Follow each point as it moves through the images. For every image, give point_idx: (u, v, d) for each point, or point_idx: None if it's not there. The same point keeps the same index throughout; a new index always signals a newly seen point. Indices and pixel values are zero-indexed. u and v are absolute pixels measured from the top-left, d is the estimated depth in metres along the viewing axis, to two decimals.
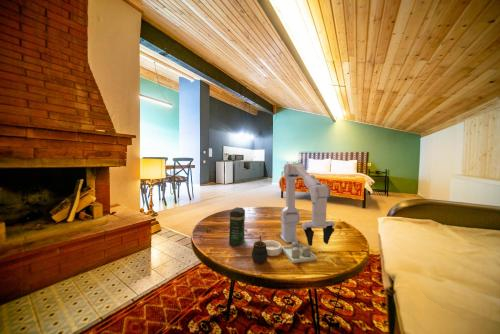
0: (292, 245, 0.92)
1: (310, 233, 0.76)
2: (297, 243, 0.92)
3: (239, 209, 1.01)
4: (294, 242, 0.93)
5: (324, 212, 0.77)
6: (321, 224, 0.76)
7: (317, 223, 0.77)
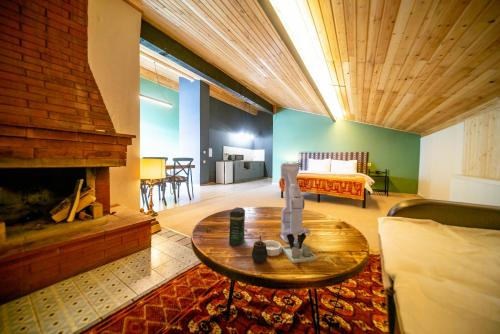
0: None
1: (291, 239, 0.89)
2: (297, 243, 0.92)
3: (239, 209, 1.01)
4: (294, 242, 0.93)
5: (299, 221, 0.89)
6: (297, 231, 0.89)
7: (294, 230, 0.90)
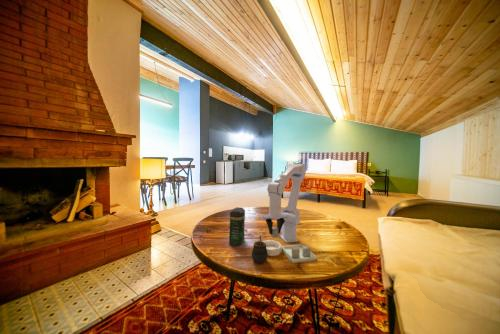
0: None
1: (269, 223, 0.90)
2: (276, 228, 0.92)
3: (239, 209, 1.01)
4: (273, 227, 0.93)
5: (273, 205, 0.90)
6: (276, 216, 0.90)
7: (272, 215, 0.90)
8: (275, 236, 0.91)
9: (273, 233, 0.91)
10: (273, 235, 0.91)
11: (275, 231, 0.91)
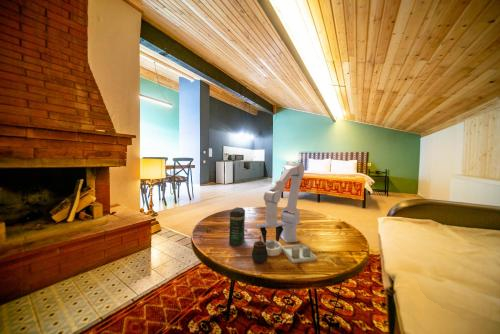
0: (267, 243, 0.93)
1: (263, 232, 0.90)
2: (272, 241, 0.93)
3: (239, 209, 1.01)
4: (269, 240, 0.94)
5: (269, 214, 0.90)
6: (272, 224, 0.90)
7: (269, 223, 0.91)
8: None
9: (269, 246, 0.92)
10: (269, 248, 0.92)
11: (271, 244, 0.92)
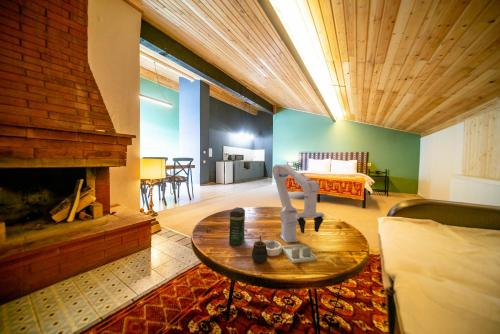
0: (267, 243, 0.93)
1: (302, 222, 0.89)
2: (272, 241, 0.93)
3: (239, 209, 1.01)
4: (269, 240, 0.94)
5: (315, 204, 0.90)
6: (312, 214, 0.89)
7: (308, 214, 0.90)
8: None
9: (269, 246, 0.92)
10: (269, 248, 0.92)
11: (271, 244, 0.92)
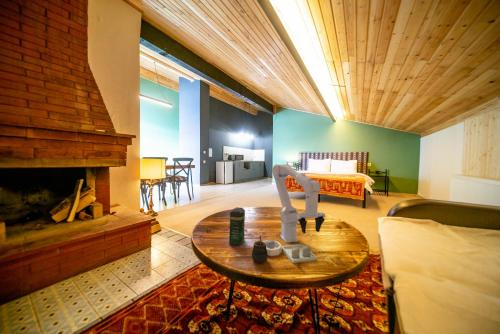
0: (267, 243, 0.93)
1: (303, 222, 0.89)
2: (272, 241, 0.93)
3: (239, 209, 1.01)
4: (269, 240, 0.94)
5: (316, 204, 0.90)
6: (313, 214, 0.90)
7: (310, 214, 0.90)
8: None
9: (269, 246, 0.92)
10: (269, 248, 0.92)
11: (271, 244, 0.92)
